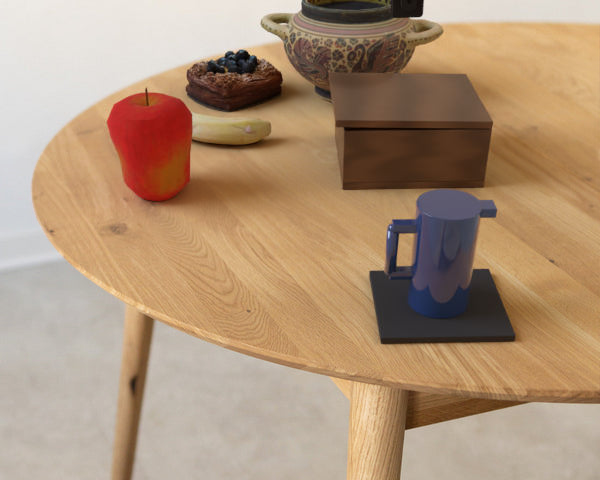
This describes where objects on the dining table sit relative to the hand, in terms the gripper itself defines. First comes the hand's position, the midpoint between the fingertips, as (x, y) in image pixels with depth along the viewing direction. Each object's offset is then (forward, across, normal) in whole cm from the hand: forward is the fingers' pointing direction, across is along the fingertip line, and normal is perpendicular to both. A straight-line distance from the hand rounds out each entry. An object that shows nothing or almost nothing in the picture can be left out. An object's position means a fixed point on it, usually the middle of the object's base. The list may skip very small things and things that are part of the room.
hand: (406, 15), depth 82 cm
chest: (+17, 0, -1) cm, 17 cm away
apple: (+16, -7, +27) cm, 32 cm away
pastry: (+16, +22, +20) cm, 34 cm away
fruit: (+16, +9, +22) cm, 29 cm away
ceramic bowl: (+17, +22, +4) cm, 28 cm away
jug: (+16, -29, 0) cm, 33 cm away
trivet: (+17, -29, 0) cm, 34 cm away
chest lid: (+10, 0, 0) cm, 10 cm away
